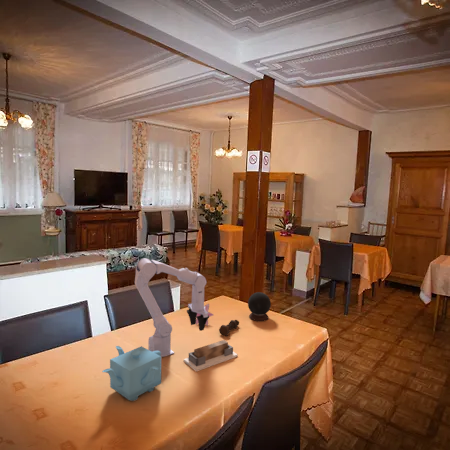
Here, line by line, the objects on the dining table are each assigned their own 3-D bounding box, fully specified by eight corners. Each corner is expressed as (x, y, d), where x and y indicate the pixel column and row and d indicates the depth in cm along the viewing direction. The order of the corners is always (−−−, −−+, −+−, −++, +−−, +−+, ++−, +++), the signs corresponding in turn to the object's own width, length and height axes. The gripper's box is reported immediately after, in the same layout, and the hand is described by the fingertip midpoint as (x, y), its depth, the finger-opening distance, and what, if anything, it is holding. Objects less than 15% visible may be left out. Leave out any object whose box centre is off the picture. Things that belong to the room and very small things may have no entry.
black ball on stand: (273, 316, 202) (275, 292, 200) (264, 324, 191) (265, 298, 189) (253, 311, 209) (254, 287, 207) (243, 318, 198) (244, 293, 196)
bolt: (237, 329, 188) (224, 338, 175) (231, 323, 190) (217, 331, 177) (243, 321, 186) (229, 330, 173) (236, 315, 188) (222, 323, 175)
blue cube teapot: (162, 375, 138) (162, 340, 136) (158, 405, 119) (159, 365, 117) (114, 377, 135) (113, 341, 134) (102, 407, 117) (101, 366, 115)
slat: (197, 363, 145) (198, 352, 145) (194, 360, 148) (194, 349, 147) (227, 353, 155) (228, 342, 155) (223, 350, 157) (223, 339, 157)
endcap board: (196, 371, 141) (196, 362, 140) (183, 361, 149) (183, 352, 148) (237, 356, 154) (237, 347, 154) (224, 347, 162) (224, 339, 162)
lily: (187, 322, 192) (187, 311, 187) (199, 309, 201) (200, 298, 195) (204, 333, 188) (205, 322, 182) (216, 319, 196) (217, 308, 190)
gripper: (213, 302, 157) (213, 330, 158) (197, 293, 168) (196, 320, 170) (200, 305, 153) (200, 334, 154) (184, 296, 164) (184, 323, 166)
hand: (197, 327), depth 162 cm, fingers open, 7 cm apart
